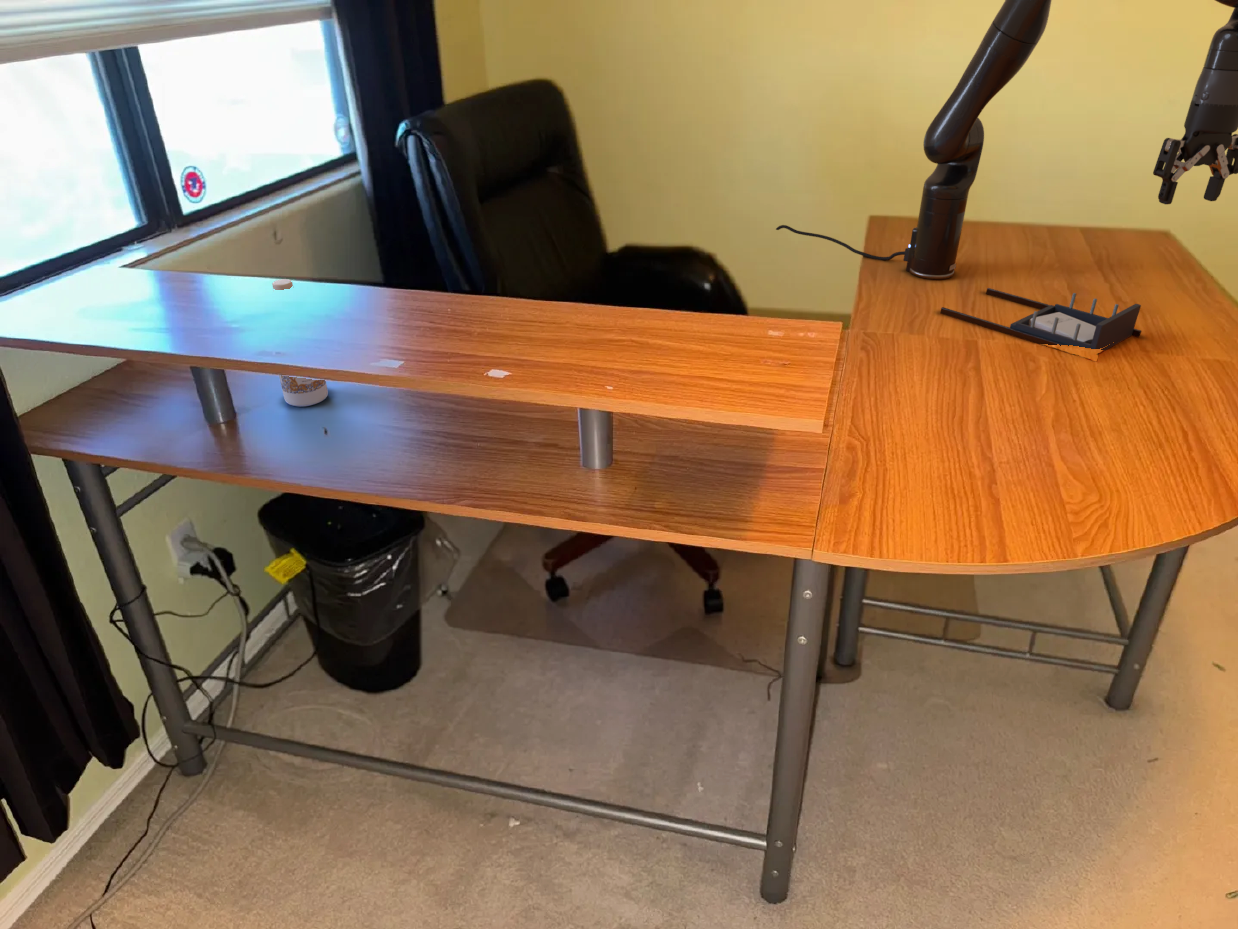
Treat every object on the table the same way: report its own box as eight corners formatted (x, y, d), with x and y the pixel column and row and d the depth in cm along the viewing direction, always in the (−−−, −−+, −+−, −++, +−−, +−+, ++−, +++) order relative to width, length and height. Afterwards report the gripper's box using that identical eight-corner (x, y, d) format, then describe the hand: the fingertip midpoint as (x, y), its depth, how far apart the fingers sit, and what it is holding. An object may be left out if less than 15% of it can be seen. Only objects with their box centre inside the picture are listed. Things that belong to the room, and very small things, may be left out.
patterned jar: (291, 411, 142) (264, 292, 131) (279, 395, 147) (253, 279, 136) (334, 400, 145) (311, 283, 135) (321, 385, 150) (298, 271, 140)
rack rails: (940, 313, 175) (941, 307, 175) (987, 293, 185) (988, 287, 184) (1095, 361, 155) (1097, 355, 154) (1139, 336, 164) (1141, 330, 164)
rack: (1008, 331, 166) (1015, 301, 163) (1049, 311, 175) (1056, 282, 172) (1093, 357, 156) (1102, 325, 153) (1131, 335, 164) (1141, 304, 161)
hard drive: (1081, 349, 159) (1027, 325, 169) (1113, 341, 162) (1058, 318, 172) (1084, 341, 158) (1029, 317, 168) (1116, 333, 161) (1060, 310, 171)
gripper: (1240, 93, 145) (1207, 194, 153) (1162, 97, 142) (1134, 198, 151) (1277, 100, 138) (1241, 204, 147) (1197, 104, 136) (1165, 210, 144)
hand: (1187, 201), depth 149 cm, fingers open, 8 cm apart
